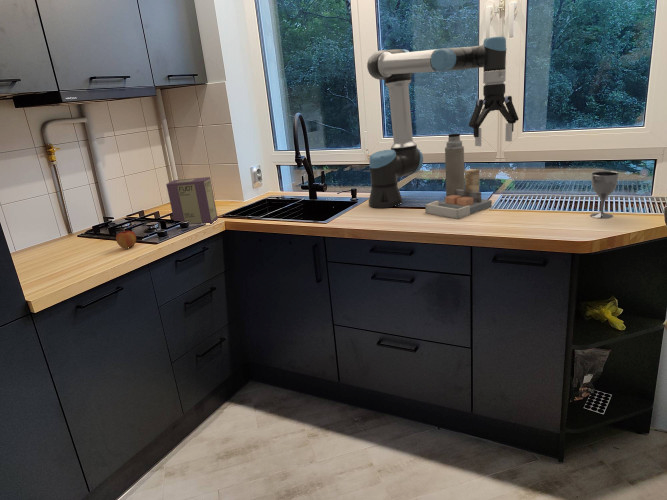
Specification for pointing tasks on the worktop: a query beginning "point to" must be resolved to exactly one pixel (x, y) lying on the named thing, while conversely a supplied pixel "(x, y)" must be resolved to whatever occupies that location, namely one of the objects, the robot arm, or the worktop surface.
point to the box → (192, 200)
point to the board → (473, 208)
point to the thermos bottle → (454, 164)
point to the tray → (446, 210)
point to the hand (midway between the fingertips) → (493, 143)
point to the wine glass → (604, 189)
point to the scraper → (471, 186)
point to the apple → (126, 239)
